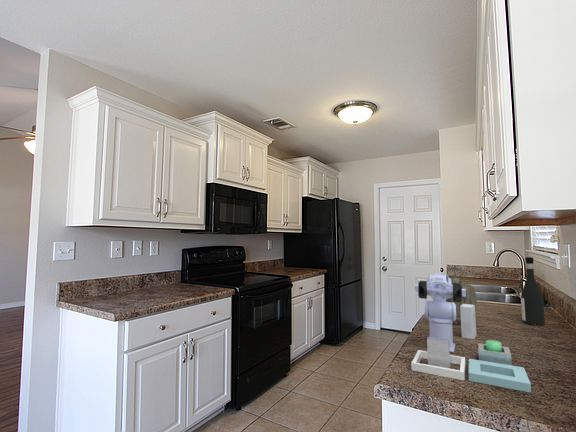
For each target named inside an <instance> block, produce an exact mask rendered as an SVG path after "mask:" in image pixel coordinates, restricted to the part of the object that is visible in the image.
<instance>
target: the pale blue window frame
mask: <svg viewBox="0 0 576 432" xmlns="http://www.w3.org/2000/svg"><path fill="white" fill-rule="evenodd" d="M468 381H469V382H473V383H479V384H483V385H484V384H485V385H489V386H495V387H500V388H503V389H504V388H506V389H510V390H516V391H521V392H525V393H526V392H527V393H532V384H531V381H530V379H529V377H528V373H527V372H526V370H525V368H524V366H523V367H522V366H517V365H505V364H499V363H493V362H487V361H481V360H479V359H473V358H469V359H468Z"/></svg>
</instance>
